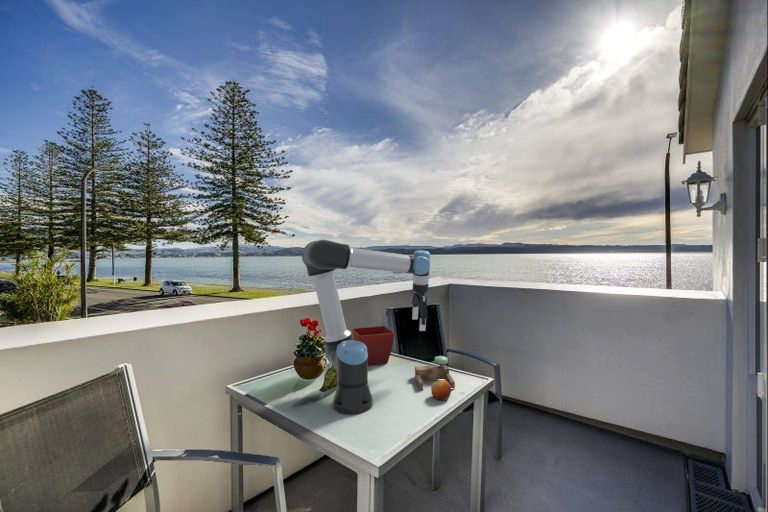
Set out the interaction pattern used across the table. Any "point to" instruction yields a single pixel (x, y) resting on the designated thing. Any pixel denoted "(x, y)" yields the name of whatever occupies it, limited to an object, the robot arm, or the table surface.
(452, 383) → the brown wooden u shape
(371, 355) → the plant pot
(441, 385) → the fruit
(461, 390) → the table surface
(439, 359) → the button
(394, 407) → the table surface
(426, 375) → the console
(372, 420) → the table surface
